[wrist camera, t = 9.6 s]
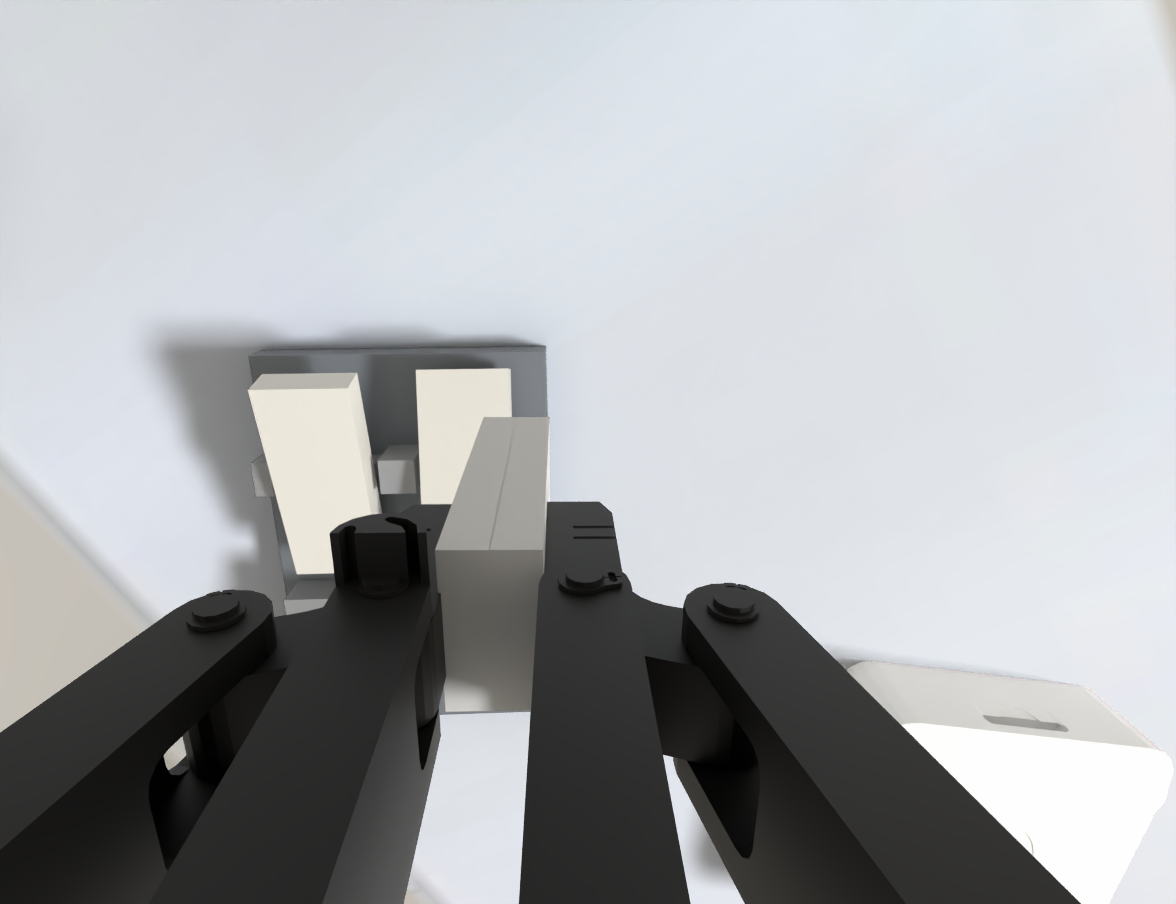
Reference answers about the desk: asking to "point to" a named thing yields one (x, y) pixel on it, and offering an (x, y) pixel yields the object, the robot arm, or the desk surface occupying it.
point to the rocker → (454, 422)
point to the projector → (1036, 763)
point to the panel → (390, 428)
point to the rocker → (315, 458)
